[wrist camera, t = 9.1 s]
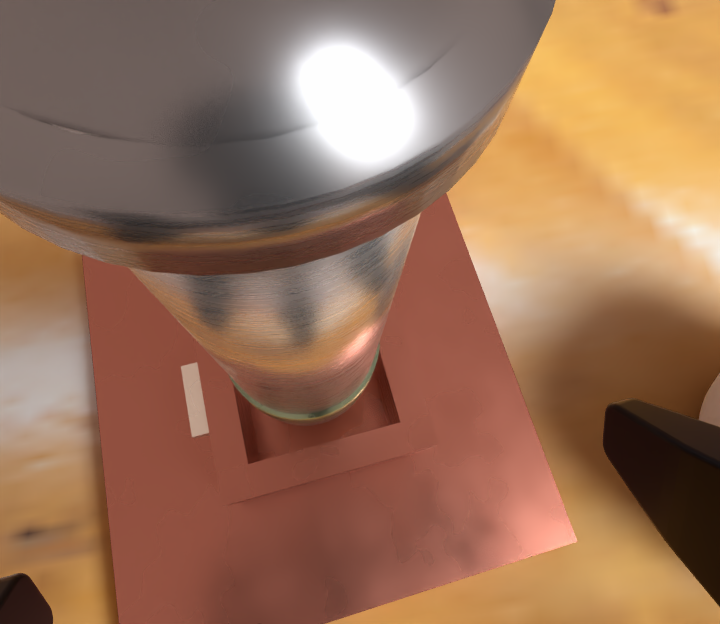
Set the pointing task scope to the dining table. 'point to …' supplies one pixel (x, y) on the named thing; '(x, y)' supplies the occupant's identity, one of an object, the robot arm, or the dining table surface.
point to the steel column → (255, 160)
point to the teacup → (712, 404)
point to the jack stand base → (316, 460)
